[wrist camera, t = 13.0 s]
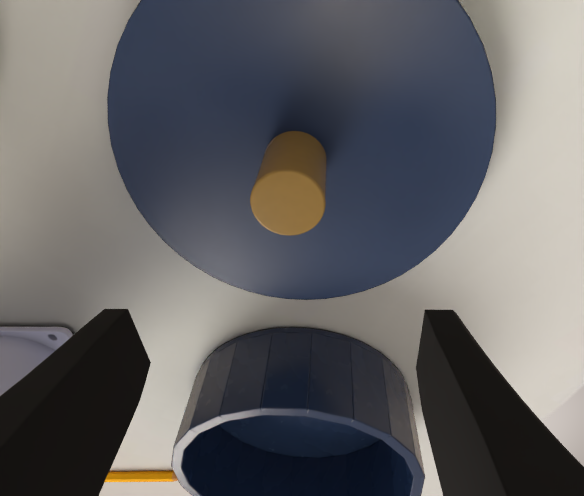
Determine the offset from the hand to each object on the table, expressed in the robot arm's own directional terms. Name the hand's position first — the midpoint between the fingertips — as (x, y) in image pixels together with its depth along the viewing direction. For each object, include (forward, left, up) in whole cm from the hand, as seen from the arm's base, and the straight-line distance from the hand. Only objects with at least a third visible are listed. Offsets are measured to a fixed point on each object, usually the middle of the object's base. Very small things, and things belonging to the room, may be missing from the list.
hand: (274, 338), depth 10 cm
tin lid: (0, +1, -8) cm, 8 cm away
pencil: (-17, -27, -9) cm, 33 cm away
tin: (-1, -16, -9) cm, 18 cm away
